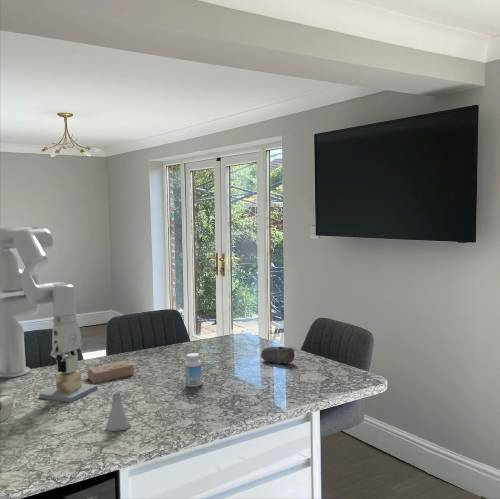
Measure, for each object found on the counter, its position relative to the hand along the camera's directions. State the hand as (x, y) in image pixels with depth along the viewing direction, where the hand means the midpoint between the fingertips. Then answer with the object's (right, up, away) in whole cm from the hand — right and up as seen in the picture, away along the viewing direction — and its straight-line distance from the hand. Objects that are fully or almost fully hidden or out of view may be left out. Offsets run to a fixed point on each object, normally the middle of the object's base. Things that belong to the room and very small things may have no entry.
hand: (67, 369), depth 191 cm
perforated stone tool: (+76, -5, +32) cm, 83 cm away
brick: (+10, -8, +20) cm, 24 cm away
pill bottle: (+44, -7, +6) cm, 45 cm away
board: (0, -9, +1) cm, 9 cm away
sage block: (0, 0, 0) cm, 0 cm away
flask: (+26, -11, -31) cm, 42 cm away
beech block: (0, -7, +1) cm, 7 cm away
